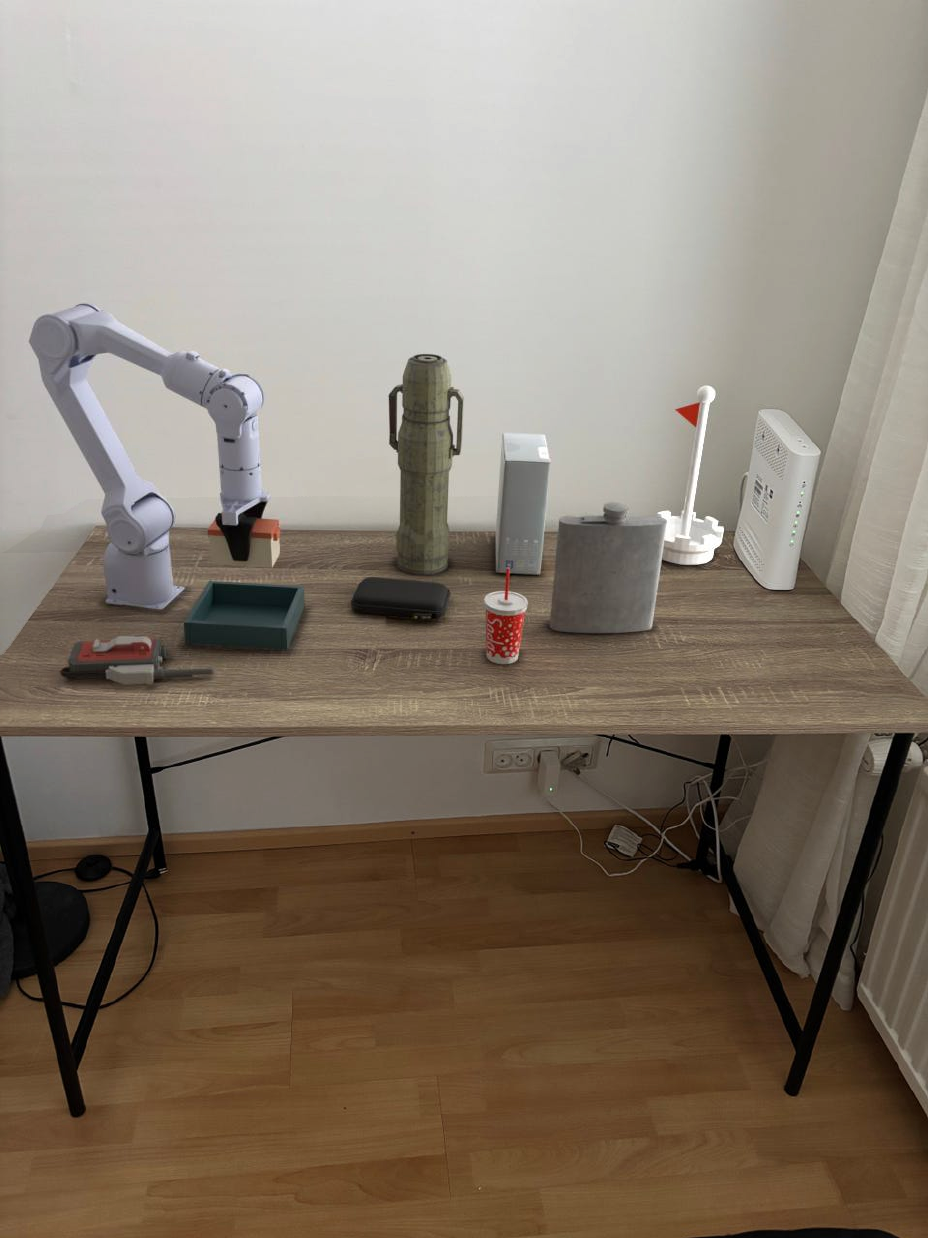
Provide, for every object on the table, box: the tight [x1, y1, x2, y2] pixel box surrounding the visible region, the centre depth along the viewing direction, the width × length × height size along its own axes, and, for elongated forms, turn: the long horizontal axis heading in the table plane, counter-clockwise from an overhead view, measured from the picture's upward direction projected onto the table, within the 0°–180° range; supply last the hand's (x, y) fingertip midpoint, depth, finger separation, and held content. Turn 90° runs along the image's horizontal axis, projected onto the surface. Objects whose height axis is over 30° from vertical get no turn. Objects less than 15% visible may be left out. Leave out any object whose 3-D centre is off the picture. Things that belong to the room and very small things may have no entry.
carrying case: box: [350, 576, 452, 621], centre depth 158 cm, size 11×3×15 cm
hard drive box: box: [495, 432, 552, 576], centre depth 174 cm, size 16×8×20 cm, turn 179°
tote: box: [183, 580, 306, 651], centre depth 151 cm, size 15×14×4 cm
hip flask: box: [549, 501, 667, 634], centre depth 152 cm, size 16×4×20 cm, turn 95°
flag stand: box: [656, 385, 724, 566], centre depth 176 cm, size 13×13×30 cm
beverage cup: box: [483, 567, 529, 665], centre depth 144 cm, size 6×6×14 cm
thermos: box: [388, 353, 465, 576], centre depth 166 cm, size 9×12×35 cm
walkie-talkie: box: [60, 635, 215, 685], centre depth 139 cm, size 9×4×20 cm
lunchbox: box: [207, 518, 281, 569], centre depth 150 cm, size 10×5×6 cm, turn 87°
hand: (245, 552), depth 151 cm, fingers closed on lunchbox, 5 cm apart
